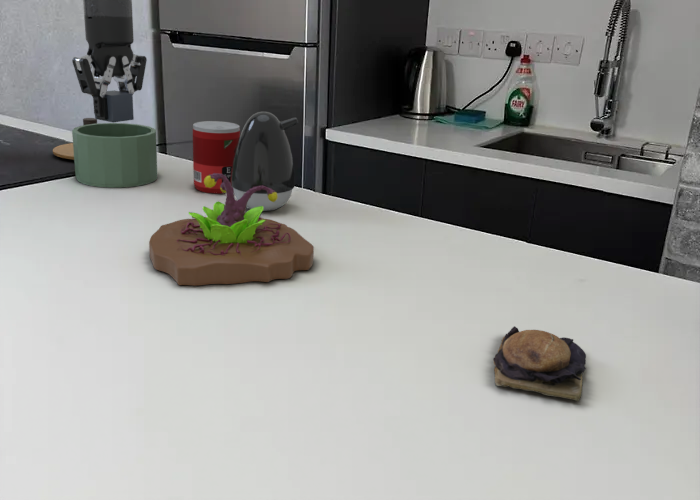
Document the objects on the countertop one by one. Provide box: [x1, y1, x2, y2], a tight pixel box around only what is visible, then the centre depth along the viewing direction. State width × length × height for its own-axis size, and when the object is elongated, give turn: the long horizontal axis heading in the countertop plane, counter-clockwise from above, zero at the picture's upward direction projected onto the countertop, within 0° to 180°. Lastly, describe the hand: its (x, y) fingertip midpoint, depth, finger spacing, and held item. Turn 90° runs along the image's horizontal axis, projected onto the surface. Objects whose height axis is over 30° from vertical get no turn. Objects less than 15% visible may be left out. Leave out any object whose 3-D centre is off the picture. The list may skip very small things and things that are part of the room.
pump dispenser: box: [230, 111, 299, 212], centre depth 107 cm, size 10×10×15 cm
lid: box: [52, 117, 98, 161], centre depth 135 cm, size 14×14×7 cm
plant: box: [148, 173, 315, 287], centre depth 86 cm, size 20×20×11 cm
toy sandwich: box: [492, 326, 587, 402], centre depth 65 cm, size 11×8×4 cm
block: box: [94, 90, 135, 123], centre depth 117 cm, size 4×4×4 cm
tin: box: [71, 122, 158, 189], centre depth 120 cm, size 14×14×8 cm
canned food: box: [192, 120, 241, 195], centre depth 117 cm, size 8×8×11 cm
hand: (114, 117), depth 117 cm, fingers closed on block, 4 cm apart
